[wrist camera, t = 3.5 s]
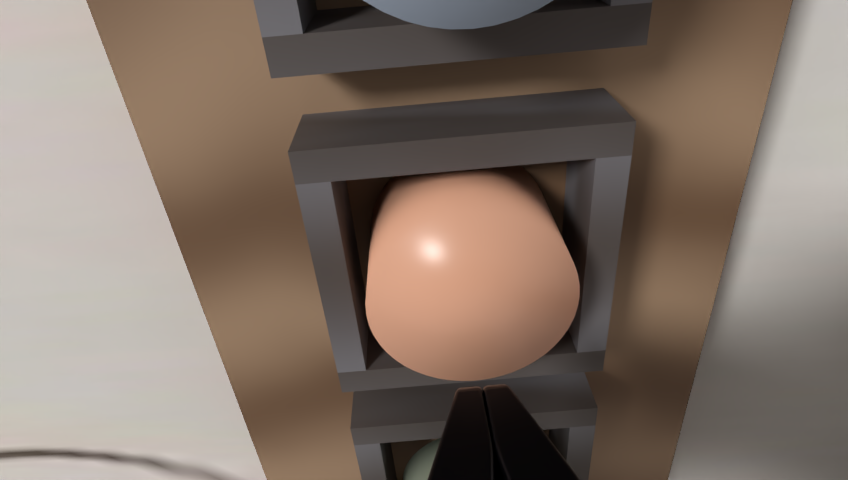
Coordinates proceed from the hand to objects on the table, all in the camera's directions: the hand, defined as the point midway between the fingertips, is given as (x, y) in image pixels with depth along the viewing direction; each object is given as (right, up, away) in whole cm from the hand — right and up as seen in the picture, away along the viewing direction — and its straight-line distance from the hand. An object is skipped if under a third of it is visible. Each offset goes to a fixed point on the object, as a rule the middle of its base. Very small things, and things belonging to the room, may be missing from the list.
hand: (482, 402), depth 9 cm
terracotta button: (0, +3, +5) cm, 6 cm away
